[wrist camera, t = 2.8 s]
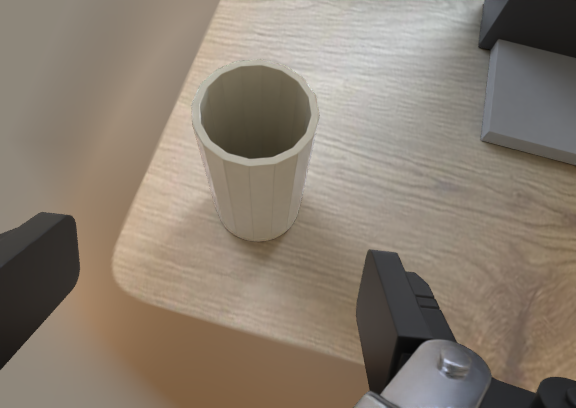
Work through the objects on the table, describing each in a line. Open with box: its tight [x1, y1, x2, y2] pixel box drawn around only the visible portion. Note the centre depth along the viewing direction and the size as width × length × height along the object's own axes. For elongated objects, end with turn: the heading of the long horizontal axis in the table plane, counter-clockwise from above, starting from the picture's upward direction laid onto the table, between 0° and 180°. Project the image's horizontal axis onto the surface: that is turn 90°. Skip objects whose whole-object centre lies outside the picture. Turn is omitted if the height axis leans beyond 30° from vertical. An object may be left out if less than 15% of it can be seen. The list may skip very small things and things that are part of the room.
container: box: [191, 59, 320, 242], centre depth 22 cm, size 5×5×10 cm
